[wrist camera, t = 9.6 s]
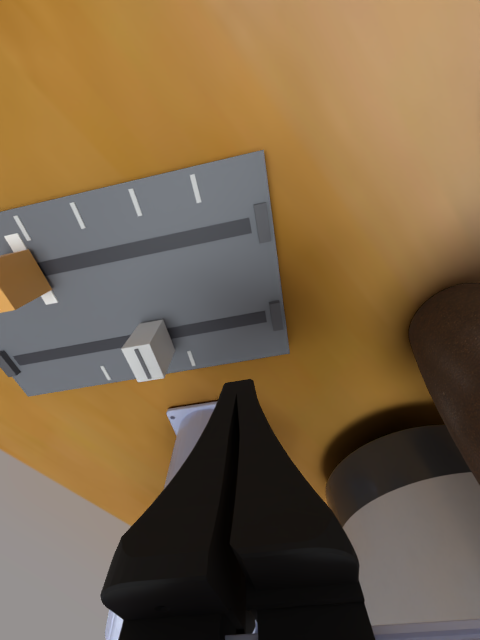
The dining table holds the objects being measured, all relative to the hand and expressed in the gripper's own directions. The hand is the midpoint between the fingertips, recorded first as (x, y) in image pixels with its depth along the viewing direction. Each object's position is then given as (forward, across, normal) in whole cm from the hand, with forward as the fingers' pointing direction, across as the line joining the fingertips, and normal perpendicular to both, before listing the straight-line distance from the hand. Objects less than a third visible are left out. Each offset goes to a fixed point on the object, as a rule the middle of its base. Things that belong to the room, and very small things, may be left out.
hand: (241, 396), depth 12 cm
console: (+10, +9, -3) cm, 14 cm away
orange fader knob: (+9, +14, -6) cm, 18 cm away
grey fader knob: (+9, +7, +1) cm, 11 cm away
